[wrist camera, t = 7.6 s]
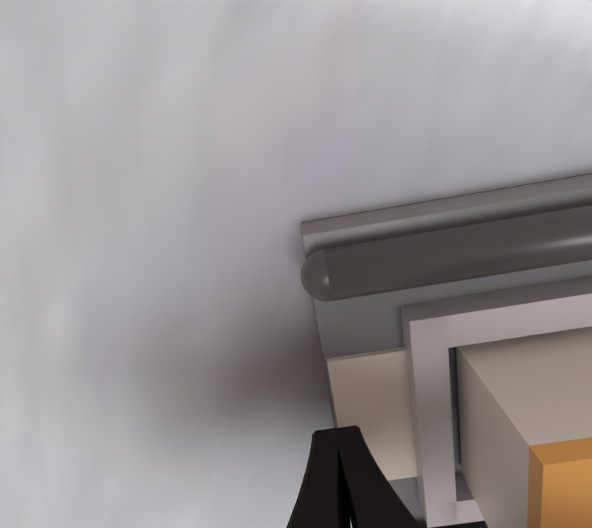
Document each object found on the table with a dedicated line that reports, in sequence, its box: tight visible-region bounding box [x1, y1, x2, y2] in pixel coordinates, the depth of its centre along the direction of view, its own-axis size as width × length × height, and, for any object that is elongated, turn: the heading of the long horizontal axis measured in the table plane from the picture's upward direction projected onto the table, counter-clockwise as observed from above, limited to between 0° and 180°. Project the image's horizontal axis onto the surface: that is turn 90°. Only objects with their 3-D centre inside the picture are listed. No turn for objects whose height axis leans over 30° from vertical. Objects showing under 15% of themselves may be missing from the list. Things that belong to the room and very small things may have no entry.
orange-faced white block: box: [456, 326, 592, 528], centre depth 11 cm, size 4×5×4 cm
